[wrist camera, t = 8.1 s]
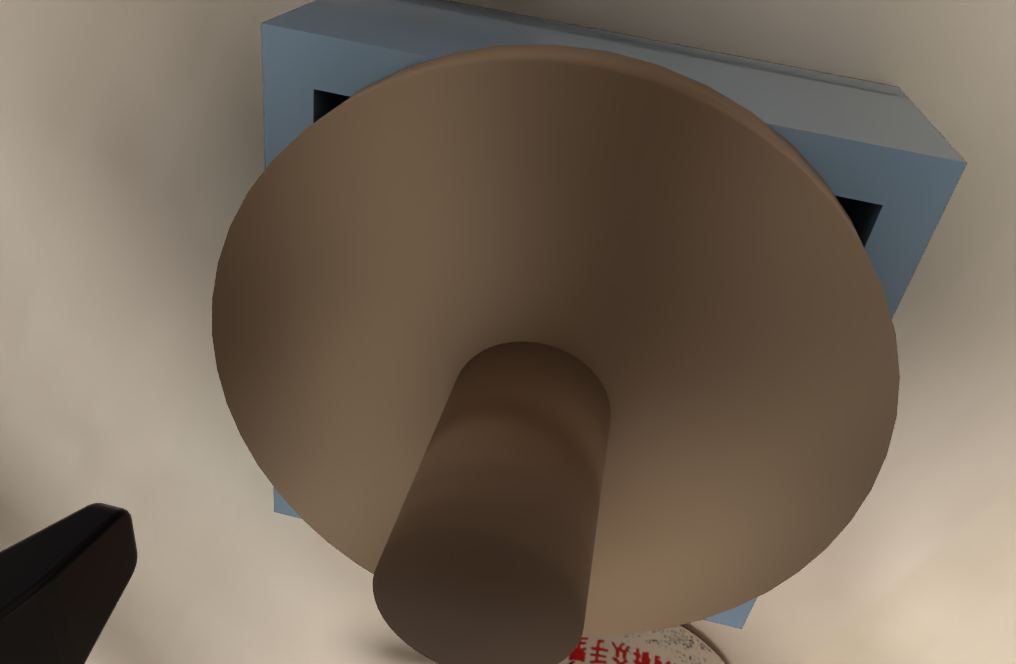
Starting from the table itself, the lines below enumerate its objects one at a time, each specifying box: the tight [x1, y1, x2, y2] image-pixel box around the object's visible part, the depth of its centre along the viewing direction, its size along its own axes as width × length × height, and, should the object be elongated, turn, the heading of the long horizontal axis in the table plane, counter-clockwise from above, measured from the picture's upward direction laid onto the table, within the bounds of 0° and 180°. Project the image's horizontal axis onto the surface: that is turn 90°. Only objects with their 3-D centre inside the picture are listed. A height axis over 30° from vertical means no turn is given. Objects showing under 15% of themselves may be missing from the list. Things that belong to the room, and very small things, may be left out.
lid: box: [212, 44, 900, 664], centre depth 12 cm, size 11×11×5 cm
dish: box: [261, 0, 967, 629], centre depth 15 cm, size 10×10×4 cm
